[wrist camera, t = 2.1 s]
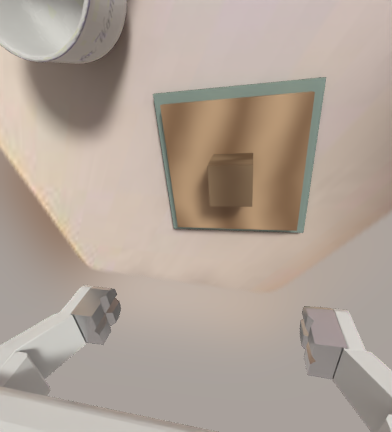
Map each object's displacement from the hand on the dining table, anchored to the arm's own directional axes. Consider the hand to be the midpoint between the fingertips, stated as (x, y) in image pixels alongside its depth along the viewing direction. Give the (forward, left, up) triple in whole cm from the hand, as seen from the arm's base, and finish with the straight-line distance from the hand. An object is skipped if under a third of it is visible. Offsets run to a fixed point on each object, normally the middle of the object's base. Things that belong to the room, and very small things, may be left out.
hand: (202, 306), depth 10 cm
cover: (0, 0, -19) cm, 19 cm away
